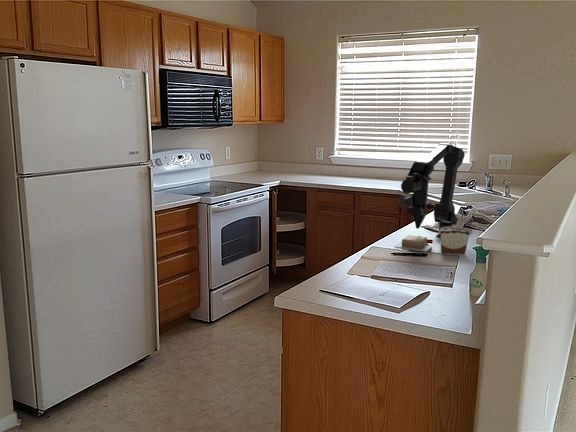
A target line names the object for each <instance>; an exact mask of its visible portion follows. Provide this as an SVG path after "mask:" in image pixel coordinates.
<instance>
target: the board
mask: <svg viewBox="0 0 576 432" xmlns="http://www.w3.org/2000/svg"><path fill="white" fill-rule="evenodd" d="M394 248H397V249H404V250H409V251H410V250H411V251H417V252H418V251H419V252H425V253H427V252H428V251H430V249H431V248H433V245H428V244H426V246H425V247H423V248H422V249H421V250H420V249H413V248H406V247H402V241H401V242H398V244H397V245H395V246H394Z"/></svg>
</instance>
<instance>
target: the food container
mask: <svg viewBox="0 0 576 432" xmlns="http://www.w3.org/2000/svg"><path fill="white" fill-rule="evenodd" d="M439 234H440V237H439V238H440V254H441V255H455V256H456V255H458V256H460V255H461V256H465V255H466V252H467V251H466V250H467V246H468V242H469V238H470V237H469V236H471V230H470V229H468V228H465V227H459V226H452V227H442V228H441V229H440V231H439Z"/></svg>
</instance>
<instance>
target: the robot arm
mask: <svg viewBox="0 0 576 432" xmlns="http://www.w3.org/2000/svg"><path fill="white" fill-rule="evenodd" d="M442 159H443V160H442ZM464 159H465V151H464V150H463V148H460V147H458V146H455V145H453V144H451V143H445V142H441V143H439V144H438V146H437V147H435V149H434V150H432V151H431V152H430V153H429V154H427V155H426V156H425V157H420V158H418V159H416V160H415V161H414V162H413V164H412V165H411V167H410V169H409V172H408V173H407V176H406V177H405V179H404V180H403V181H402V182H401V184H400V188H401V191H402V192H403V193H404V194H406V195H409V194H410V196H409V197H405V196H403V197H399V200H397V201H398V202H397V204H398V205H399V206H400V208H403V207H406V206H408V207H407V208H406V209H405V214H406V215H410V216H411V215H412V216H413V220H414V224H415V228H416V229H420V228H421V225H422V223H423V222H424V220H425V218H426V217H427V214H428V212H429V211H427V210H426V211H425V209H428V210H432V205H433V204H432V203H431V202H430V201H428V197H429V195H430V194H429V181H431V180H432V177H431V176H430V175H431V174H432V173H433V171H434V170H435V166H436V164H438V163H439V162H440V161H441V160H442V161H443V164H444V166H445V172H444V178H443V183H442V184H443V185H442V191H441V194H440V195H441V197H440V200H439V202H436V203H435V204H434V211H433V219H434V223H438V230H437V231H438V233H437V234H436V235H435V237H436V238H440V234H439V231H440V229H441V228H442V227H453V226H456V225H457V224H458V221H459V219H458V217H457V215H456V211H455V210H456V209H455V205H454V202H453V198H454V192H455V186H456V180H457V174H458V169H459V168H460V166H461V165H463V161H464Z"/></svg>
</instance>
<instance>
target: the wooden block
mask: <svg viewBox="0 0 576 432" xmlns="http://www.w3.org/2000/svg"><path fill="white" fill-rule="evenodd" d="M401 242H402V247H406V248H413V249H420V250H421V249H422V248H423V247H425V246H426V245H428V244H427V243H428V238H427V237H426V236H418V235H411V234H408V235H406V236H405V237H404V238H403V239H401Z"/></svg>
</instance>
